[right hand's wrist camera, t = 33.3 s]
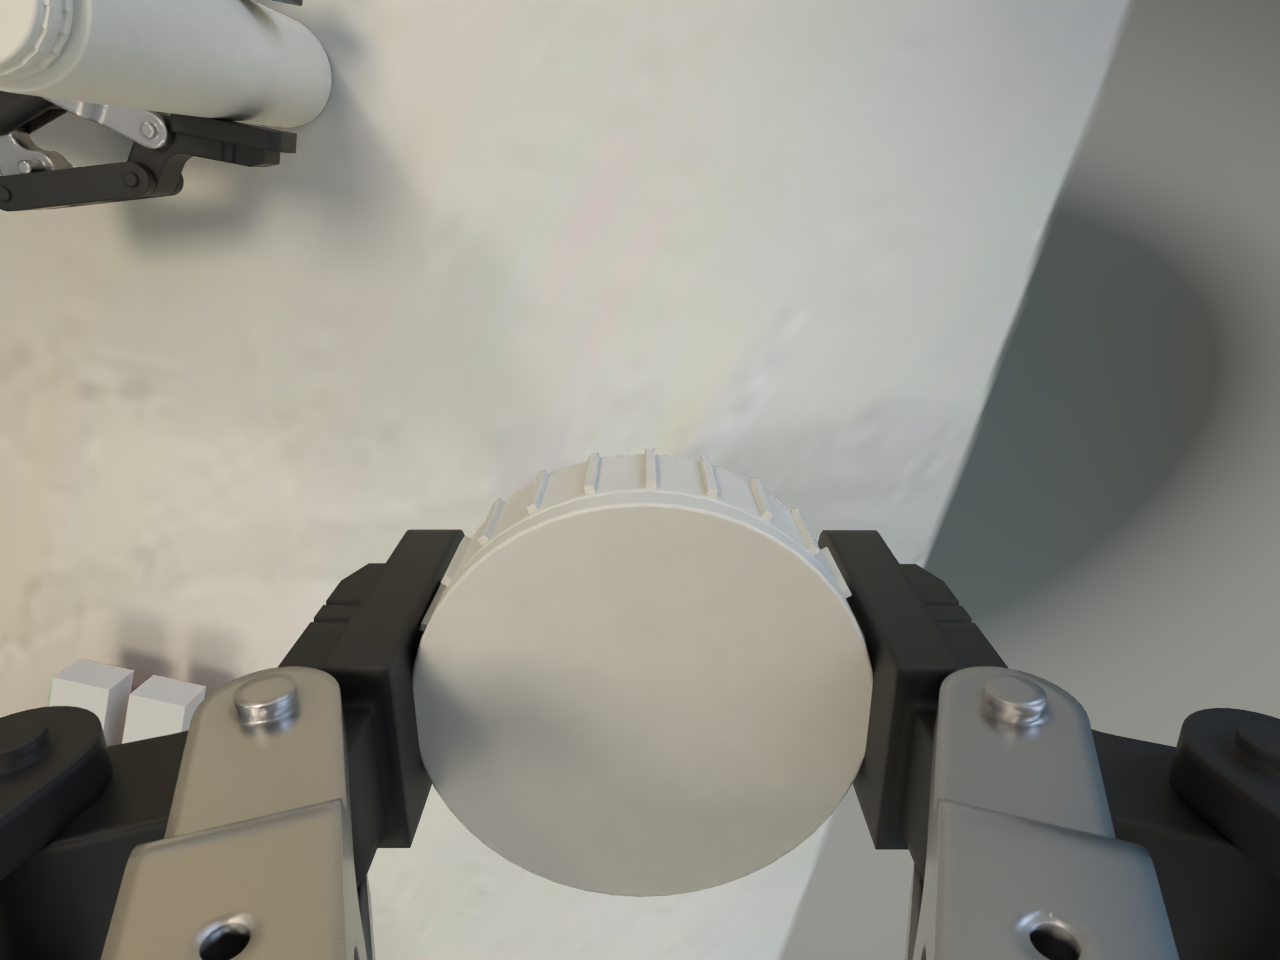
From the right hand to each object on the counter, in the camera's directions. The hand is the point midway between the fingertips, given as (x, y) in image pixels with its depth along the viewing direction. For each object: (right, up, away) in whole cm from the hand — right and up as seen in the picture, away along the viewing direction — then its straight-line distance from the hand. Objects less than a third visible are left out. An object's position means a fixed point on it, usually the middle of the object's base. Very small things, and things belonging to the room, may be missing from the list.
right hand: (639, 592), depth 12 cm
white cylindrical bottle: (-15, +19, +24) cm, 34 cm away
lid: (0, -1, -2) cm, 3 cm away
